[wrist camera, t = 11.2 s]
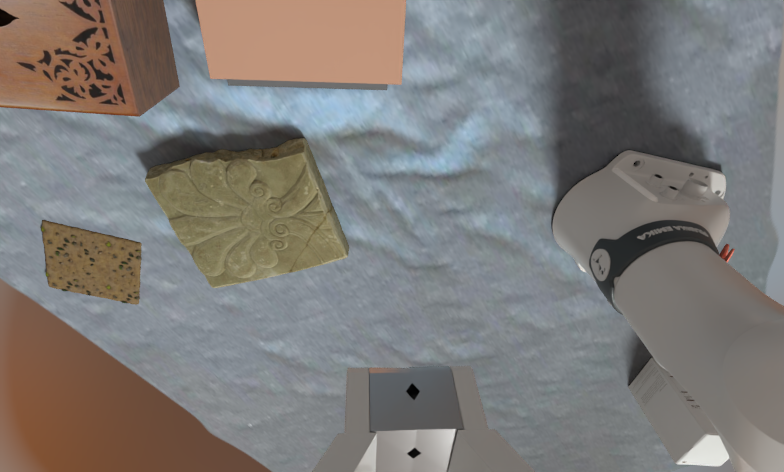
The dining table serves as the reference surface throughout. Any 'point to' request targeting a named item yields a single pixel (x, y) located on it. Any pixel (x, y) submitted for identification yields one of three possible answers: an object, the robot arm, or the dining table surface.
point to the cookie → (92, 262)
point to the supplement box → (677, 418)
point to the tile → (304, 40)
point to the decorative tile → (250, 212)
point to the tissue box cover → (85, 55)
